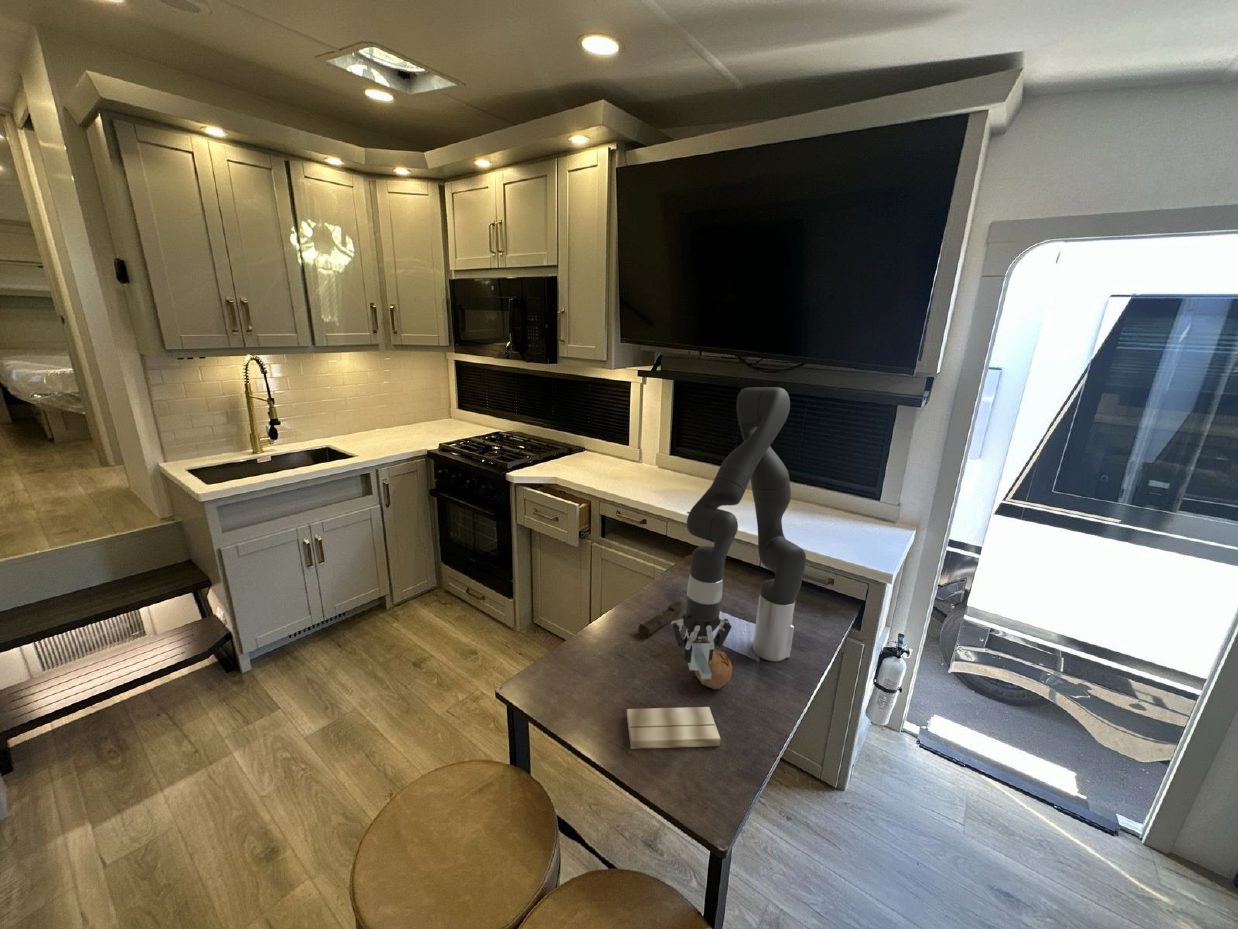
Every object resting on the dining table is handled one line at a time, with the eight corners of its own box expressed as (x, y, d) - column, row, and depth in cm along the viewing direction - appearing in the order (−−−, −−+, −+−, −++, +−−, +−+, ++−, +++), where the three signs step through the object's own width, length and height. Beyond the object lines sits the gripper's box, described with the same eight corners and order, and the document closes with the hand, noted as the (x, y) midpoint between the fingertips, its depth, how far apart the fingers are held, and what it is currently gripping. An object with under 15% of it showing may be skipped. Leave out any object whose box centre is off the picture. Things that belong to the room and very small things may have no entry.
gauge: (702, 658, 115) (706, 629, 113) (714, 689, 105) (718, 657, 103) (686, 659, 114) (689, 629, 112) (696, 689, 105) (699, 657, 103)
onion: (724, 692, 125) (746, 664, 122) (706, 702, 117) (729, 672, 115) (698, 662, 130) (719, 635, 127) (679, 670, 123) (701, 641, 120)
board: (708, 714, 113) (709, 706, 113) (719, 746, 104) (720, 738, 104) (626, 716, 111) (627, 708, 111) (631, 749, 103) (631, 741, 102)
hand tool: (647, 640, 139) (648, 626, 138) (637, 634, 142) (638, 620, 141) (688, 616, 152) (689, 603, 151) (678, 611, 155) (679, 598, 154)
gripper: (730, 585, 112) (722, 650, 117) (669, 585, 111) (663, 650, 115) (741, 603, 105) (731, 671, 109) (675, 602, 104) (669, 672, 108)
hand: (696, 660), depth 112 cm, fingers closed on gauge, 4 cm apart
